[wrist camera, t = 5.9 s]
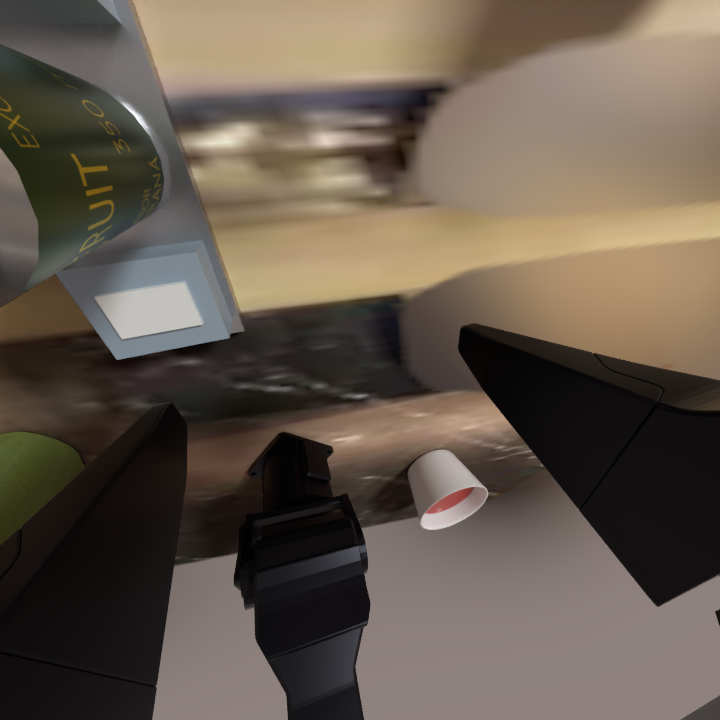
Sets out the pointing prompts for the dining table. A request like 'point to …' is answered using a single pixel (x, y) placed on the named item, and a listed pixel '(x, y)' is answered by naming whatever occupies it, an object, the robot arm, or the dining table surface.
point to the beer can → (65, 171)
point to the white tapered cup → (444, 489)
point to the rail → (150, 107)
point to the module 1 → (59, 11)
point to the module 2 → (150, 298)
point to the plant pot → (31, 476)
